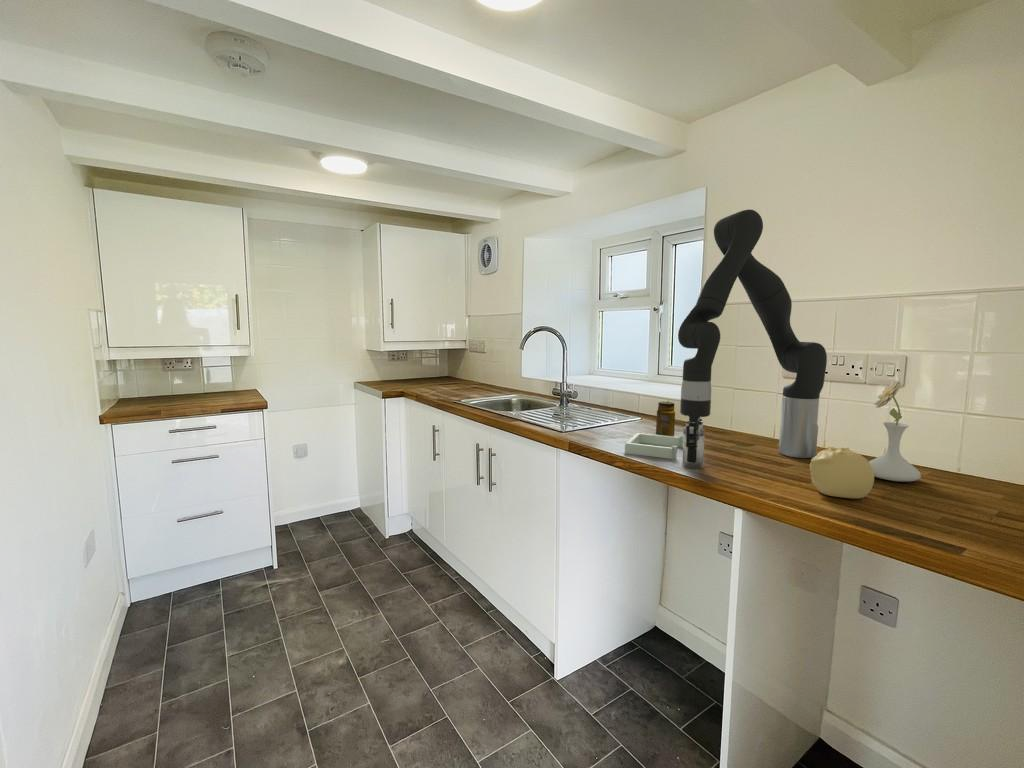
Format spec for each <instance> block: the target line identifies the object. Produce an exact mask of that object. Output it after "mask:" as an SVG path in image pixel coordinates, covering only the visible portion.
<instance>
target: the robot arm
mask: <svg viewBox="0 0 1024 768" xmlns="http://www.w3.org/2000/svg"><path fill="white" fill-rule="evenodd" d="M763 229H764V222H763V218H762V216H761V215H760V213H759V212H757V210H754V209H744V210H741V211H738V212H735V213H733V214H730V215H728V216H725V217H723V218H721V219H719V220H718V221H717V222H716V223H715V225H714V227H713V239H714V241H715V244H716V245H717V247H718V250H719V251H720V252H721V253H722V255H723V258H722V259H721V260H720V262H719V263H718V264H717V265H716V266H715V268H714V269H713V270H712V271H711V273H710V274H709V275H708V277H707V279H706V280H705V282H704V283H703V286H702V288H701V290H700V293H699V295H698V299H697V300H696V303H695V304H694V306H693V307H692V309H691V310H690V311H689V313H688V314H687V316H686V317H685V318H684V319H683V321H682V323H681V325H680V326H679V329H678V332H677V339H678V342H679V344H680V346H681V347H683V348H685V349H692V350H693V349H694V350H697V351H696V353H695V356H693V357H688V358H686V359H684V361H683V365H682V383H681V389H680V390H681V391H680V409H679V410H680V411H679V413H680V415H682V416H685V417H688V418H689V419H688V420H687V421H686V423H685V428H686V447H687V448H688V451H687V461H688V462H692V463H695V462H696V455H697V448H698V446H697V443H698V440H700V431H701V430H702V429H704V428H703V426H704V421H703V418H705V417H706V418H707V417H709V416H710V415H711V407H712V406H711V405H712V366H713V364H714V360H715V356H716V354H717V351H718V348H719V345H720V342H721V331H720V328H719V326H718V325H717V324H716V323H715V322H713V321H712V320H714V319H717V318H719V317H720V316H722V314H723V312H724V311H725V307H726V305H727V302H728V300H729V296H730V294H731V292H732V289H733V287H734V284H735V283H736V281H737V278H738V280H739V281H740V283H741V285H742V286H743V289H744V291H745V293H746V294H747V297H748V299H749V302H751V305H752V306H753V309H754V310H755V312H756V314H757V316H758V317H759V319H760V321H761V324H762V325H763V327H764V330H765V331H766V333H767V336H768V337H769V341H770V342H771V343H770V344H771V345H772V347H773V350H774V353H775V357H776V358H777V360H778V363H779V364H780V366H781V368H782V369H784V370H785V371H786V372H788V373H793V374H795V375H796V376H795V380H794V381H793V382H792V383H790V384H787V385H784V386H783V387H782V388H783V389H782V397H781V398H782V399H781V400H782V401H781V415H780V429H779V443H778V453H779V454H780V455H784V456H787V457H790V458H798V459H799V458H800V459H813V458H814V457H815V456H816V455H817V449H818V435H819V425H818V423H819V422H818V420H819V409H820V408H819V407H820V396H821V395H820V394H821V392H822V390H823V388H824V383H825V378H826V370H827V361H828V360H827V359H828V357H827V351H826V349H825V347H824V346H823V345H822V344H821V343H819V342H815V341H800V340H799V339H798V337H797V336H796V334H795V332H794V330H793V328H792V324H791V316H792V315H791V314H792V308H793V307H792V305H793V304H792V298H791V296H790V294H789V291H788V289H787V288H786V286H785V285H786V284H785V283H784V281H783V279H781V277H780V276H779V275H777V273H776V272H774V271H773V270H771V269H770V268H769V267H768V266H765V265H764V264H762V263H761V262H760V261H759V260H757V259H756V257H754V256H753V254H752V252H753V251H754V249H755V247H756V245H757V244H758V241H759V240H760V238H761V236H762V233H763ZM711 321H712V322H711ZM697 431H698V436H697ZM690 440H694V443H690Z"/></svg>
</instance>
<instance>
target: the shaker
mask: <svg viewBox="0 0 1024 768" xmlns="http://www.w3.org/2000/svg"><path fill="white" fill-rule="evenodd" d="M682 432H683V436H684V439H683V448H682V467H684V468H686V469H691V470H700V468H701V469H703V468H704V451H705V449H704V448H705V435H706V429H705V428H702V430H701V431H700V440H698V443H697V446H698V448H697V455H696V462H695V463H692V462H688V461H687V451H688V448H687V447H686V427H683V431H682ZM697 436H698V431H697ZM690 443H694V440H690Z"/></svg>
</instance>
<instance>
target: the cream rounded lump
mask: <svg viewBox="0 0 1024 768" xmlns="http://www.w3.org/2000/svg"><path fill="white" fill-rule="evenodd" d="M809 472H810V477H811V483H812V485H813V486H814V487H815V488H816V489H817V490H818V491H819V492H820V493H821V494H822V495H826V496H830V497H836V498H845V499H846V498H847V499H863V498H865V497H866V496H868V495H869V493H870V492H871V490H872V488H873V486H874V482H875V476H874V472H873V469H872V466H871V464H870V463H869V460H867V458H865V456H863V455H861V454H860V453H857V452H855V451H852V450H851V449H850V448H849V447H834V446H827V447H826V448H825V449H823V450H821V451H819V452H817V453H816V456H815V457H814V458H810V463H809Z"/></svg>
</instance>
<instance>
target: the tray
mask: <svg viewBox="0 0 1024 768" xmlns="http://www.w3.org/2000/svg"><path fill="white" fill-rule="evenodd" d="M683 439H684V435H679V437H673V436H663V435H656V434H651V433H641V432H640V433H639V432H637V433H635V434H634V435H632V437H631V438H629V439H628V440H627V441H626V442H625V443H624V454H629V455H630V454H631V455H638V456H647V457H653V458H662V459H672V460H677V453H678V448H682V449H683Z"/></svg>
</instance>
